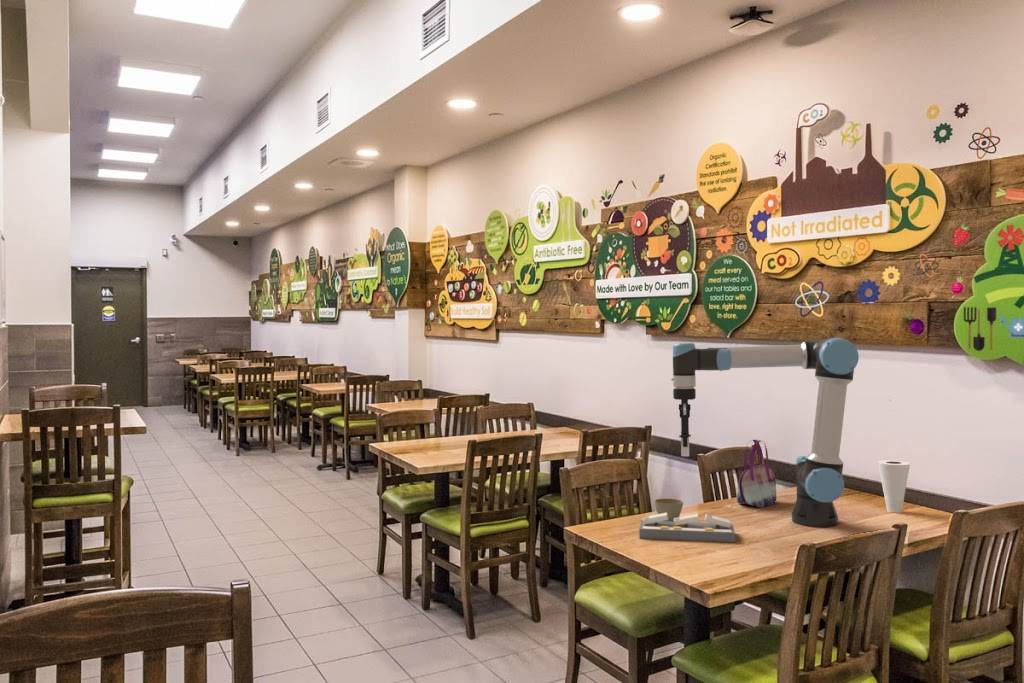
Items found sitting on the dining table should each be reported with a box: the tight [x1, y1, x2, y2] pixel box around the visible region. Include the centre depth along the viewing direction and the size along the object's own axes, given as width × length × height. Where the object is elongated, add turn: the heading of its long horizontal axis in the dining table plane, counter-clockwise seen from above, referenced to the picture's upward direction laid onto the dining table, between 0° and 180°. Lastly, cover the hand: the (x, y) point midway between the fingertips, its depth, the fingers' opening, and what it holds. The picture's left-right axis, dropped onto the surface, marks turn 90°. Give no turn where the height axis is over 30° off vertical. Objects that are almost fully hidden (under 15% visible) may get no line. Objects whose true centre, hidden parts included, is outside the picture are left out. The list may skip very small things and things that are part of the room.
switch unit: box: [638, 519, 736, 543], centre depth 246 cm, size 30×12×4 cm, turn 77°
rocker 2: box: [674, 513, 700, 526], centre depth 247 cm, size 8×4×2 cm, turn 77°
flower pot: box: [653, 497, 684, 522], centre depth 266 cm, size 10×10×7 cm
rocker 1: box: [642, 513, 668, 524], centre depth 250 cm, size 8×4×2 cm, turn 77°
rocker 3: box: [704, 513, 732, 528], centre depth 245 cm, size 8×4×2 cm, turn 77°
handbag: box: [736, 439, 777, 508], centre depth 291 cm, size 21×10×25 cm, turn 125°
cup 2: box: [877, 459, 911, 514], centre depth 276 cm, size 11×11×18 cm
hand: (685, 455), depth 258 cm, fingers closed
